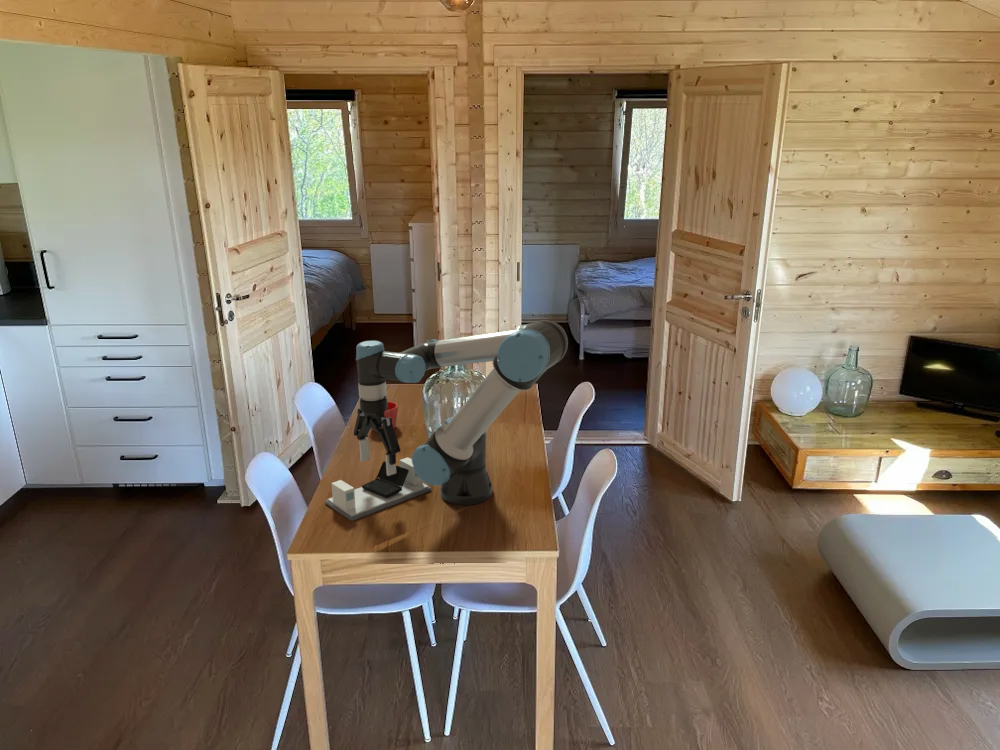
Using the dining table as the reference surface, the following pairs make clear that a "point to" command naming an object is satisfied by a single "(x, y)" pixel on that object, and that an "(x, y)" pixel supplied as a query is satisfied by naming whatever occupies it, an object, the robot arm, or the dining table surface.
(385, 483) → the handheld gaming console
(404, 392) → the dining table surface
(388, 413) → the flower pot
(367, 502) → the board
